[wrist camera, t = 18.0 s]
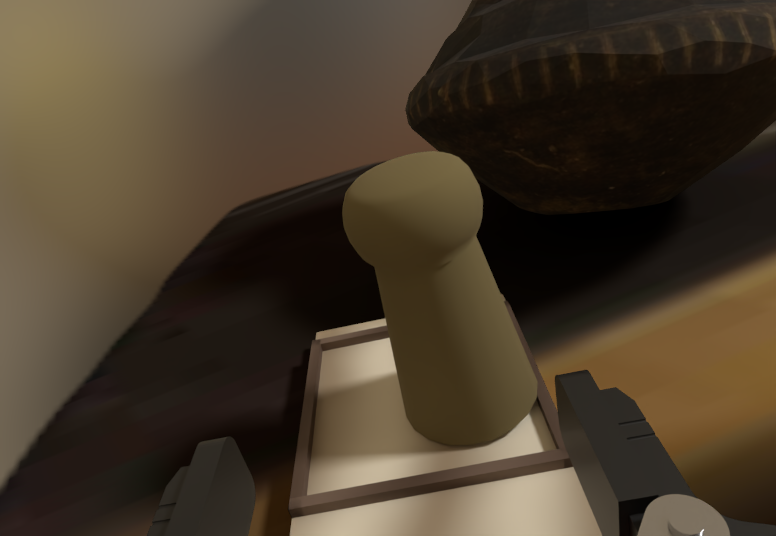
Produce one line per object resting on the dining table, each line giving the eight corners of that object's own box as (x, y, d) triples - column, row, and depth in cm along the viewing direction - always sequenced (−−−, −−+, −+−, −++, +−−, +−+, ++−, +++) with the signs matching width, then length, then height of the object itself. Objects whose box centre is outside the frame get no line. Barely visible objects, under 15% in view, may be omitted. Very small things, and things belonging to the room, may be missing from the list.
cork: (454, 471, 21) (363, 221, 16) (381, 396, 26) (295, 187, 21) (568, 388, 23) (519, 140, 18) (480, 332, 28) (422, 127, 23)
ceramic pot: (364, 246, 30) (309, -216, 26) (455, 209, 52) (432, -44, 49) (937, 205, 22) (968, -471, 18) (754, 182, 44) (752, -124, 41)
